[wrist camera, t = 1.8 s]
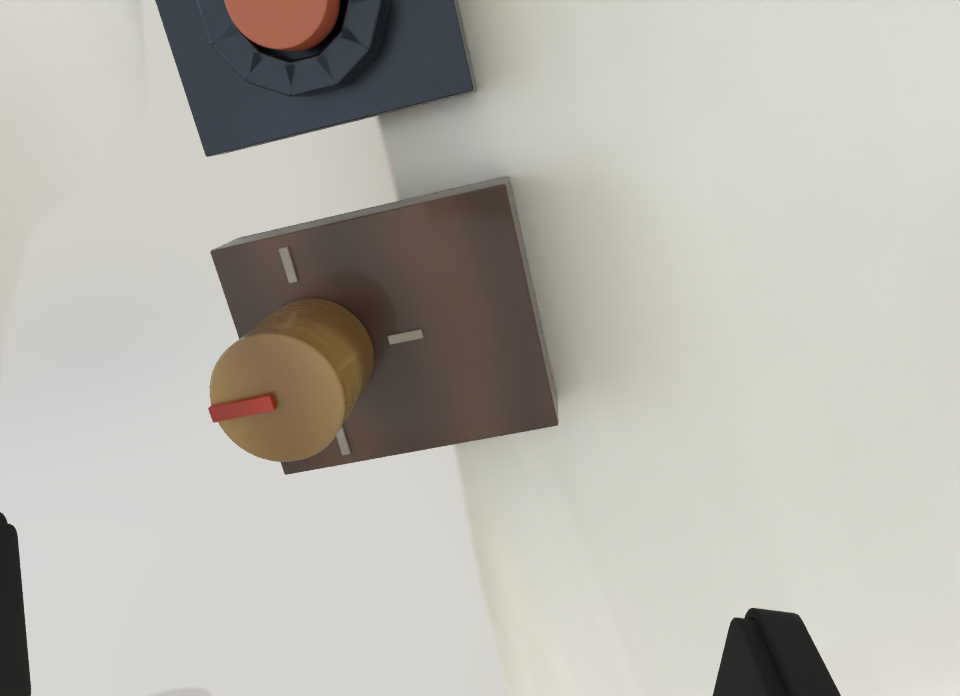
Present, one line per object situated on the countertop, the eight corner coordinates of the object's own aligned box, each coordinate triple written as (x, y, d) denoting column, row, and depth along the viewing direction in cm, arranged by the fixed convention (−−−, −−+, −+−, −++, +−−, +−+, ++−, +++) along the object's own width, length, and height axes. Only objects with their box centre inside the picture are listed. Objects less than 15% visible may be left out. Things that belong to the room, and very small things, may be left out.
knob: (356, 286, 31) (319, 323, 26) (388, 397, 32) (358, 453, 27) (243, 310, 32) (185, 351, 27) (278, 418, 33) (230, 477, 28)
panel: (509, 175, 32) (505, 183, 29) (557, 399, 35) (558, 427, 32) (205, 245, 34) (172, 259, 31) (274, 451, 37) (250, 483, 34)
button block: (421, -162, 29) (405, -195, 25) (477, 90, 31) (469, 90, 28) (147, -80, 30) (98, -101, 27) (222, 153, 33) (185, 160, 30)
